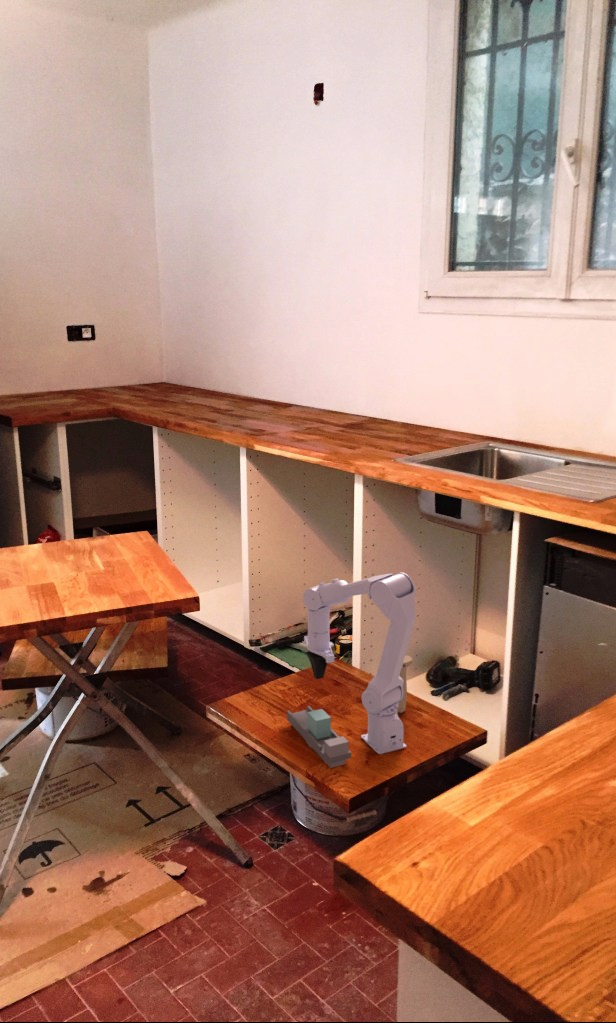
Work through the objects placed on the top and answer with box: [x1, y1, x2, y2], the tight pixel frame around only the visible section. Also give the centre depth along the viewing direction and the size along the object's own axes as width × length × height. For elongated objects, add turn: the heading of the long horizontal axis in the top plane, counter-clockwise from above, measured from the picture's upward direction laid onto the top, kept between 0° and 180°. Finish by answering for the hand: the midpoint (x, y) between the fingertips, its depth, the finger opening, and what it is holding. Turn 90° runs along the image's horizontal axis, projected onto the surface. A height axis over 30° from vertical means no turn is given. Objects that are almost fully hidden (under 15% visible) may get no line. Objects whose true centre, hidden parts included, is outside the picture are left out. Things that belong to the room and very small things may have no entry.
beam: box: [286, 705, 352, 769], centre depth 212 cm, size 24×6×6 cm, turn 25°
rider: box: [308, 708, 332, 739], centre depth 211 cm, size 5×4×5 cm
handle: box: [397, 654, 413, 714], centre depth 227 cm, size 5×6×15 cm
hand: (318, 677), depth 226 cm, fingers closed
